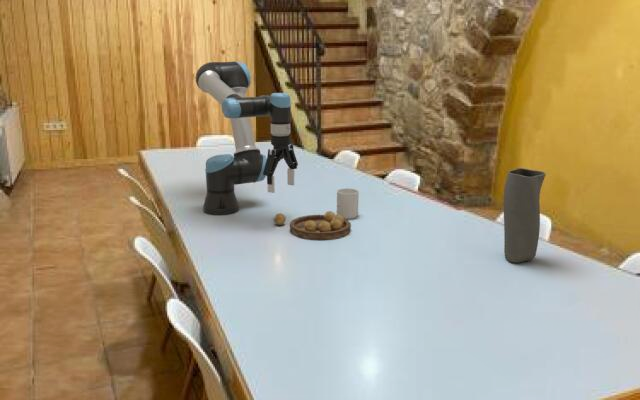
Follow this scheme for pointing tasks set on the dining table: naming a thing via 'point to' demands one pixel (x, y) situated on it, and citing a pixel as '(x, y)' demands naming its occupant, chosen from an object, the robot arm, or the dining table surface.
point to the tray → (317, 229)
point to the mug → (347, 203)
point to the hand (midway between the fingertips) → (281, 188)
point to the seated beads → (326, 223)
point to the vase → (522, 214)
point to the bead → (279, 219)
